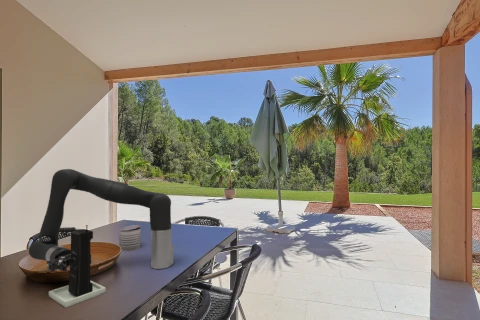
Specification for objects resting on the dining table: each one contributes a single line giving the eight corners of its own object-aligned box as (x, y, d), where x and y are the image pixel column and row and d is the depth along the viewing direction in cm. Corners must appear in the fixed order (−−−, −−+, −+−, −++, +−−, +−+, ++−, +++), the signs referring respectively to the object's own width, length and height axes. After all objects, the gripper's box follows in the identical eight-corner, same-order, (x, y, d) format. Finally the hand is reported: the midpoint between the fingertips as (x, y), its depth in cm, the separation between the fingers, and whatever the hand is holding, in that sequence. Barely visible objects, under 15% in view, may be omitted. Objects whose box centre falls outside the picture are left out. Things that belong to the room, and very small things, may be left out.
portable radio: (66, 292, 110) (66, 224, 110) (82, 286, 115) (83, 222, 115) (76, 298, 105) (76, 227, 106) (93, 292, 110) (93, 224, 110)
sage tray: (87, 283, 120) (87, 278, 120) (105, 292, 111) (105, 287, 111) (48, 296, 109) (48, 291, 109) (65, 307, 100) (65, 302, 100)
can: (133, 251, 160) (133, 229, 160) (114, 250, 162) (114, 228, 162) (144, 245, 171) (144, 224, 171) (126, 244, 173) (126, 224, 173)
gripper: (39, 251, 113) (56, 260, 104) (78, 243, 125) (97, 250, 115) (39, 271, 114) (57, 281, 104) (78, 261, 125) (97, 269, 115)
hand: (78, 265), depth 109 cm, fingers open, 8 cm apart
